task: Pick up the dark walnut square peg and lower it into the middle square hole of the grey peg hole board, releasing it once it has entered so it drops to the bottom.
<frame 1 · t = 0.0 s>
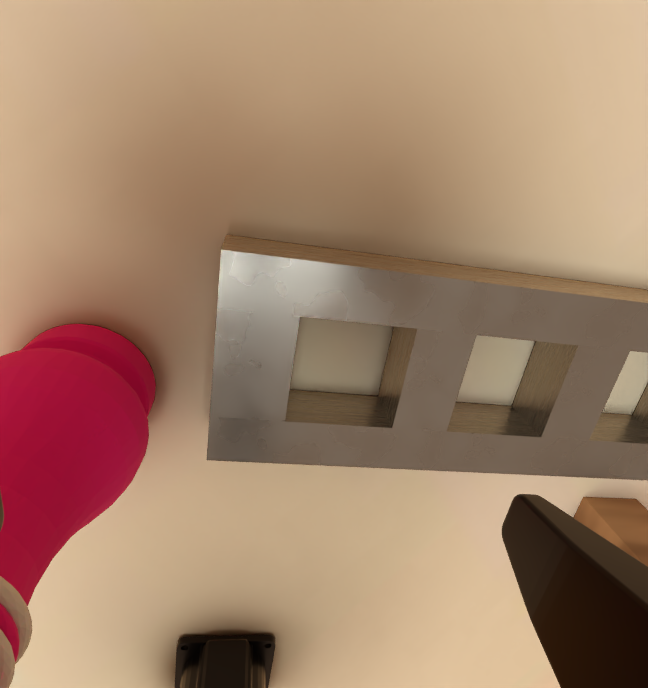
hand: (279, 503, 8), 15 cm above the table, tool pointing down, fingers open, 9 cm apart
grey peg hole board: (483, 361, 25), on the table
walnut peg: (598, 520, 31), on the table
pepper mill: (91, 379, 23), on the table
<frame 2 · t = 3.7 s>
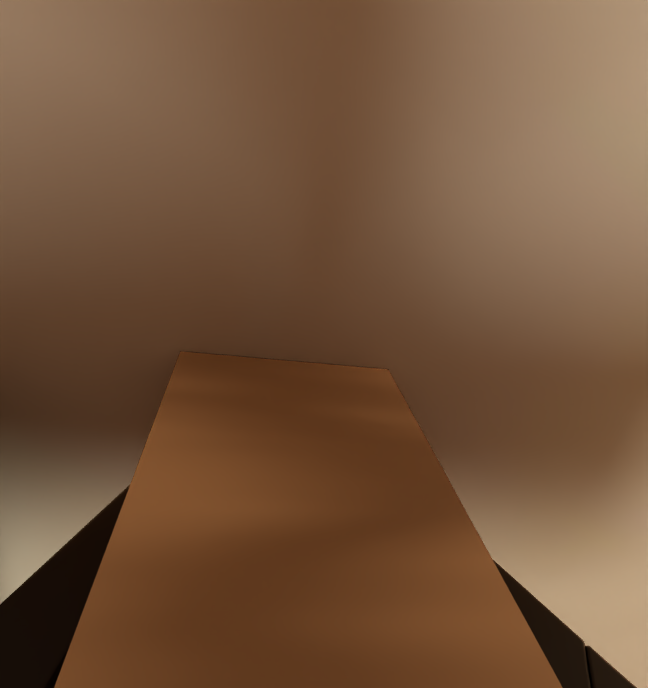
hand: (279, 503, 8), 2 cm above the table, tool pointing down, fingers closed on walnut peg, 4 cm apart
walnut peg: (276, 446, 10), on the table, touching gripper
when the fingers open (4 cm above the table, at t = 8.1 s): walnut peg drops 2 cm, resting in grey peg hole board.
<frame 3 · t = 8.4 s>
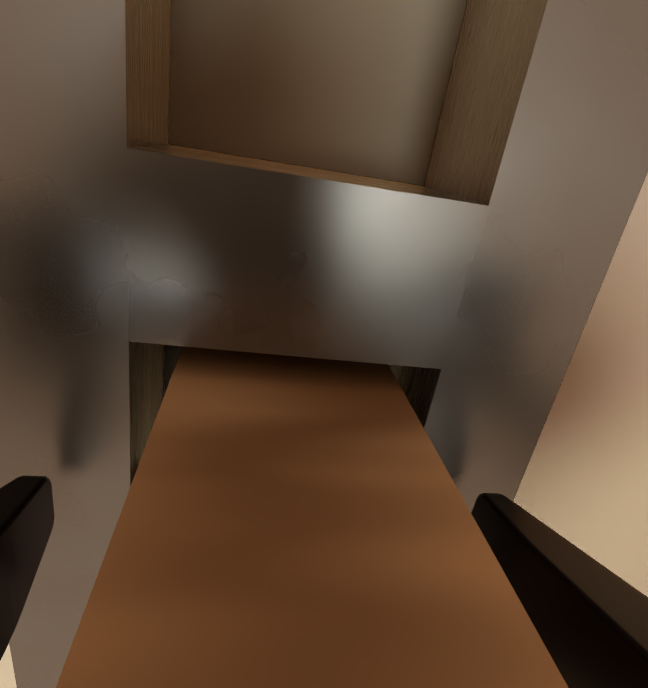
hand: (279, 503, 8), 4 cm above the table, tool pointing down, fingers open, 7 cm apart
grey peg hole board: (272, 398, 11), on the table
walnut peg: (275, 396, 11), resting in grey peg hole board
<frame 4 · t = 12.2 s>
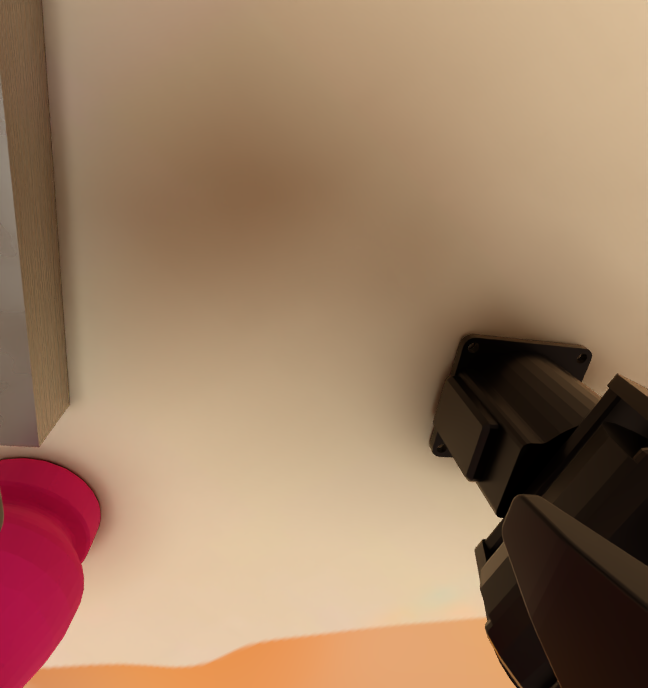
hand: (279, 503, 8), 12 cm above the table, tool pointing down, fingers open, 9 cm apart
pepper mill: (33, 506, 22), on the table
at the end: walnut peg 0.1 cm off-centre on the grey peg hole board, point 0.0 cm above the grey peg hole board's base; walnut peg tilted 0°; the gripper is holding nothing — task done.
